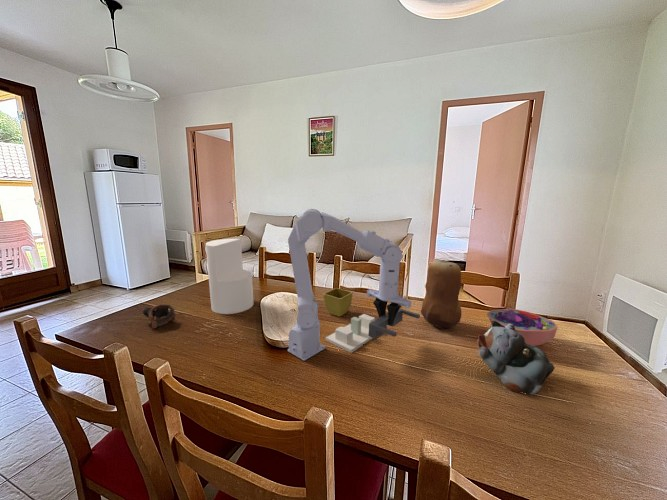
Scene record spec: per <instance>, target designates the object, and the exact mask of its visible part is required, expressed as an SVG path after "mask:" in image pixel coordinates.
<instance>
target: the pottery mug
mask: <svg viewBox="0 0 667 500" xmlns="http://www.w3.org/2000/svg"><path fill="white" fill-rule="evenodd" d="M175 311H176V309H175V308H174V307H173V306H171V305H170V304H166V303H161V304H160V303H159V304H156V305H154V306H153V307H148V306H147V307H144V308H143V310H142V314H143V315H144V316H145V317H146V318H148V320H149V321H150V322H151V328H153V329H156V328H158V327H160V326H163V325H165V324H167V323H169V322H170V321H171V320H173V318H174V317H176V313H175Z"/></svg>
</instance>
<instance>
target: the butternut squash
mask: <svg viewBox="0 0 667 500" xmlns="http://www.w3.org/2000/svg"><path fill="white" fill-rule="evenodd" d="M461 286H462V270H461V267H460V266H459V264H457V263H454V262H452V261H451V262H450V261H447V260H440V259H438V260H437V259H436V260H434V261H432V262H431V263H430V264H429V266H428V268H427V277H426V282H425V285H424V288H425V291H426V293H425V296H424V299H423V300H422V303H421V310H420V314H421V315H422V317H423V318H424V320H425V321H426V322H427V323H428V324H430V325H432V326H434V327H438V328H439V329H444V328H447V329H449V328H453V327H454V326H456V325H458V324H459V323H460V321H461V320H462V307H461V304H460V300H459V296H460V295H459V294H460V291H461Z"/></svg>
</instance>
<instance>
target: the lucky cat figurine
mask: <svg viewBox="0 0 667 500" xmlns="http://www.w3.org/2000/svg"><path fill="white" fill-rule="evenodd" d="M490 324H491V323H490ZM477 346H478V355H479V357H480V358H481V359H482V362H484V364H485V365H487V367H488V368H489V369H490V370H492V372H493V373H495V375H496V376H497V377H498V378H499V379H500V380H501V383H502V384H503V386H505V388H507V389H508V390H509V389H510V390H509V391H511V390H513V391H512V392H514V391H517V392H516V393H518V392H523V393H526V394H525V395H535V394H536V393H538V392H539V391H541V388H542V387H543V384H544V381H546V379H547V378H548V377H549V376H550V375H551V374H552V373H553V372H554V370H555V365H554V364H553V363H552V362H550V359H549V358H548V356H547V355H546V353H545V352H544V351H543V350H542V349H540V348H539V347H538V346H532V345H529V344H526V343H525V339H524V337H523V336H522V335H521V334H520V333H519V332H517V331H516V330H515V327H514V325H513V324H508V325H507V326H505V327H504V326H503V325H501V324H500V323H498V322H497V321H492V324H491V325H490V326H489V328H488V330H487V331H486V332H485V333H484V334H480V333H479V334H478V336H477Z"/></svg>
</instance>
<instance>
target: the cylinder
mask: <svg viewBox="0 0 667 500" xmlns="http://www.w3.org/2000/svg"><path fill="white" fill-rule="evenodd" d="M242 249H243V248H242V238H223V239H214V240H210V241H208V242H206V243H205V252H206V263H207V264H206V266H207V274H208V284H209V296H210V304H211V305H210V307H211V308H210V309H211V311H212V312H214V313H216V314H221V315H231V314H232V315H234V314H238V313H242V312H246V311H247V310H249V309H251V308H252V307H253V306H254V303H255V302H254V288H253V274H252V272H251V271H250V270H247V269H243V268H244V267H243V266H244V263H243V250H242Z"/></svg>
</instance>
